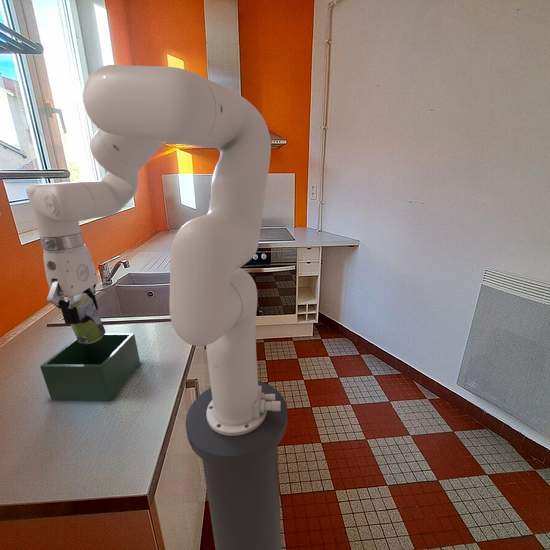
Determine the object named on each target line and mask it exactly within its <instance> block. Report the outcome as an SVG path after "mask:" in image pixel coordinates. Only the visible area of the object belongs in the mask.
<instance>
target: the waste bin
mask: <svg viewBox="0 0 550 550" xmlns="http://www.w3.org/2000/svg"><path fill="white" fill-rule="evenodd" d="M140 364H141V360H140V355H139V349H138V345H137V340H136V336H135V333H133V332H131V333H129V332H127V333H126V332H125V333H123V332H120V333H119V332H117V333H116V332H113V333H112V332H111V333H110V332H109V333H107V332H105V334H104V335H103V337H102V338H101V339H100V340H98V341H96V342H94V343H91V344H82V343H79V342H78V340H77V337H75V338H74V339H73V340H72V341H70V342H69V343H68V344H67V345H66V346H64V347H63V348H61V349H60V350H59V351H57V352H56V353H55V354H53V355H52V356H51V357H50V358H49V359H48V360H46V361H45V362H43V363H42V364H41V365H40V366H39V367H40V371H41V374H42V376H43V379H44V382H45V386H46V389H47V391H48V394H49V398H50V400H51V401H82V402H83V401H94V402H111V401H112V400H113V399H114V398H115V396H116V395H117V394H118V393H119V392H120V390H121V389H122V387H123V386H124V385H125V384H126V382H127V381H128V380H129V378H130V377H131V376H132V375H133V374H134V372H135V371H136V370H137V368H138V367H139V366H140Z"/></svg>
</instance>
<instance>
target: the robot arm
mask: <svg viewBox="0 0 550 550" xmlns="http://www.w3.org/2000/svg"><path fill="white" fill-rule="evenodd" d="M82 91H83V92H82V102H83V107H84V111H85V113H86V115H87V117H88V118H89V120H90V121H91V123H92V124H94V126H95V127H96V128H97V130H96V131H95V133H93V135H92V136H91V139H90V140H89V147H90V149H89V150H90V152H91V154H92V157H93V158H94V159H95V161H96V162H97V164H99V165H100V166H101V167H102V168H103V169H104V170H105V171H107V172H106V173H105V174H104V176H103V177H102V178H101V179H99V180H81V181H67V182H66V181H64V182H55V183H51V182H49V183H35V184H31V185H28V187H27V189H26V194H27V198H28V201H29V206H30V208H31V212H32V215H33V219H34V222H35V226H36V230H37V233H38V236H39V240H40V247H41V248H42V250H43V253H42V254H43V255H42V256H43V265H44V266H43V267H44V272H45V277H46V282H47V285H48V288H49V291H48V294H47V297H46V302H47V303H49V304H51V305H53V306H54V307H56V308H57V309H59V310H61V313H62V317H63V321H64V323H65V325H70V324H78V323H80V319H79V315H78V312H77V308H76V307H74V296H76V295H78V294H80V293H86V294H87V295H88V296H90V297H91V298H92V300H93V302H94V305H95V307H96V310H97V311H98V310H99V306H98V302H97V298H96V294H97V290H96V287H97V283H98V280H99V278H98V277H99V275H98V274H97V271H96V267H95V263H94V261H93V257H92V254H91V252H90V250H89V248H88V246H87V244H85V242H84V239H83V234H82V229H81V226H80V223H79V222H81V221H87V220H93V219H98V218H104V217H110V216H113V215H115V214H117V213H118V212H120V211H121V210H122V209H124V207H125V206H126V205H127V204H128V203H129V202H130V201H131V200H132V199H133V198H134V197H135V195H136V193H137V192H138V186H139V173H138V172H139V171H140V170H141V169H142V168H143V167H144V166H145V164H147V162H149V161H150V159H151V158H152V157H153V156H154V155H155V154H156V153H157V152H158V151H159V149H160V148H162V146H163V145H164V144H165V143H170V144H177V145H182V146H183V145H184V146H192V147H193V146H194V147H203V148H215V149H217V150H218V151H219V158H218V161H217V163H216V165H215V167H214V170H213V173H212V178H211V185H210V198H209V199H210V200H209V206H208V211H207V213H206V214H204V215H200V216H196V217H194V218H192V219H190V220H187V221H186V222H185V223H184V224H183V225H181V227H180V228H179V229H178V230H177V232H176V234H175V236H174V238H173V241H172V243H171V249H170V260H169V261H170V262H169V263H170V265H169V301H168V302H169V303H168V304H169V308H168V309H169V317H170V321H171V324H172V327H173V329H174V331H175V332H176V335H177V336H178V337H179V338H180V339H181V340H182V341H184V342H185V343H186V344H188V345H190V346H193V347H205V348H206V358H207V366H208V375H209V381H210V388H211V391H212V399H213V400H212V401H211V402H210V404H209V405H208V408H207V413H206V416H207V421H208V424H209V426H210V427H211V428H212V429H213V430H214V431H215V432H217V433H219V434H222V435H226V436H239V435H243V434H246V433H249V432H251V431H253V430H254V429H256V428H257V427H258V426H260V424H261V423H262V422H263V421H264V419H265V417H266V414H267V411H280V409H281V402H280V401H275V394H264V393H262V390H261V386H258V381H259V376H258V375H259V374H258V360H257V359H258V358H257V357H258V356H257V335H256V333H257V332H256V326H257V325H256V322H257V321H256V320H257V312H258V289H257V288H258V287H257V285H256V282H255V280H254V278H253V277H252V275H250V273H248V271H246V270H245V269H243V268H242V267H243V266H244V265H246V264H247V263H249V262H250V261H251V260H252V259H253V258H254V257H255V256H256V253H257V251H258V248H259V243H260V238H261V237H260V236H261V235H260V234H261V228H262V222H263V215H264V207H265V200H266V199H265V198H266V189H267V184H268V183H267V182H268V177H269V170H270V162H271V154H272V153H271V152H272V142H271V135H270V131H269V128H268V125H267V123H266V120H265V119H264V116H263V115H262V114H261V112H260V111H259V110H258V109H257V108H256V107H255V106H254V105H253V104H252V103H251V102H250V101H249V100H248V99H246V98H245V97H243V96H242V95H240V94H239V93H237V92H236V91H233V90H232V89H230V88H228V87H226V86H225V85H223V84H220V83H217V82H215V81H212V80H210V79H208V78H206V77H204V76H202V75H199V74H198V73H195V72H192V71H190V70H187V69H185V68H180V67H174V66H161V65H160V66H159V65H155V66H154V65H129V64H127V65H126V64H108V65H103V66H100V67H98V68H97V69H95V70H94V71H93V72H92V73H90V75H89V76H88V78H87V79H86V81H85V84H84V86H83V90H82ZM65 298H68V302H66V301H64V300H65ZM265 400H269V401H272V402H268V401H265Z"/></svg>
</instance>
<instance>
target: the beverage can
mask: <svg viewBox="0 0 550 550" xmlns="http://www.w3.org/2000/svg"><path fill="white" fill-rule="evenodd" d="M64 301H66V302H68V297H65V298H64ZM74 307H76V308H77V312H78V315H79V319H80V323H78V324H69V325H70V326H71V329H72V331H73V333H74V335H75V338H77V340H78V342H79V343H82V344H91V343H94V342H96V341H98V340H100V339H101V338H102V337H103V335H104V334H105V333H106V329H105V327H104V324H103V322H102V319H101V317H100V314H99V311H98V310H96V307H95V305H94V302H93V300H92V298H91V297H90V296H88V295H87V294H86V293H80V294H78V295H76V296H74Z"/></svg>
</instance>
